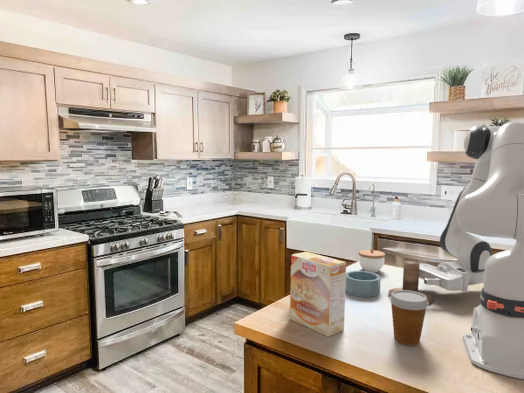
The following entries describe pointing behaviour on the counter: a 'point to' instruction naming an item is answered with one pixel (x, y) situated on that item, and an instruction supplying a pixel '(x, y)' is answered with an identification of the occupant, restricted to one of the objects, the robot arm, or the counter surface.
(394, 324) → the disposable coffee cup
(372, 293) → the bowl
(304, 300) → the coffeecake box
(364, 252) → the lidded jar
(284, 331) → the counter surface
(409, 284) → the lid
